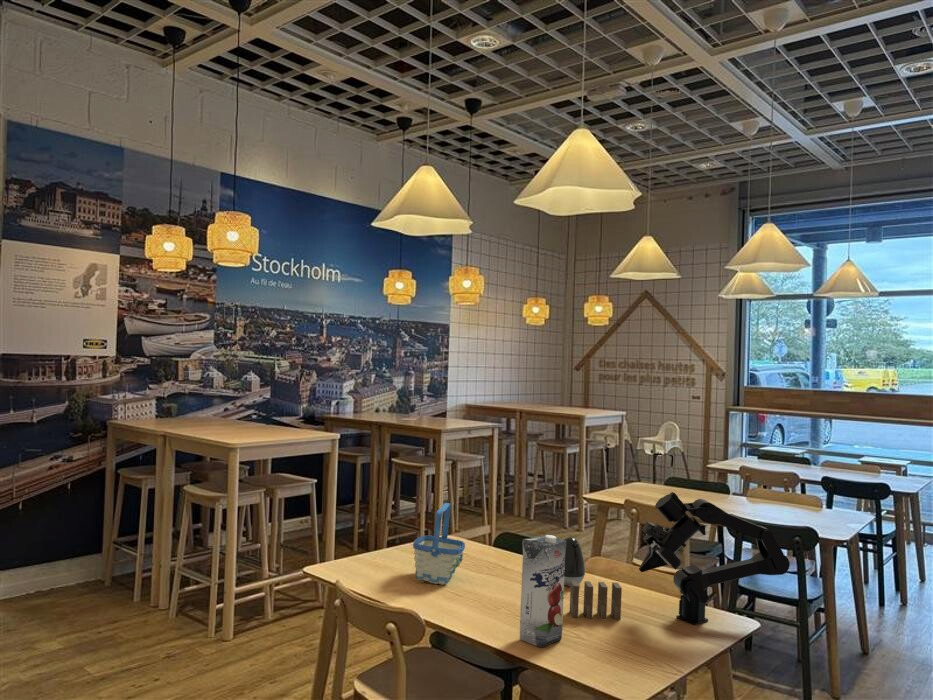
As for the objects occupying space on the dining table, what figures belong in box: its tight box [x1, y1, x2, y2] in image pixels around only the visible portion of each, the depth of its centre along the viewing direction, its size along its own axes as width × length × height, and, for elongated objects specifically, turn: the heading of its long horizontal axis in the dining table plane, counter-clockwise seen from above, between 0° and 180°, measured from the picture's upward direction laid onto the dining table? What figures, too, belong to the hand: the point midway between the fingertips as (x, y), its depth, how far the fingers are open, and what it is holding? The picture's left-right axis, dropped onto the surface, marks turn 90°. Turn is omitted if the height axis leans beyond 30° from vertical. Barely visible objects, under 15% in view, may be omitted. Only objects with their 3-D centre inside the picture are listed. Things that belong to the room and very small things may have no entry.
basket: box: [412, 502, 466, 586], centre depth 229 cm, size 21×16×24 cm
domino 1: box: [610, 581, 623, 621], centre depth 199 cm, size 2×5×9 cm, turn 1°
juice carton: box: [519, 534, 566, 648], centre depth 179 cm, size 9×10×27 cm
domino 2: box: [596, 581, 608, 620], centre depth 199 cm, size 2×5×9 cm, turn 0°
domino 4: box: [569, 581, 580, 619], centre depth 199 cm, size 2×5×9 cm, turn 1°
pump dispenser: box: [563, 536, 586, 587], centre depth 229 cm, size 10×10×15 cm
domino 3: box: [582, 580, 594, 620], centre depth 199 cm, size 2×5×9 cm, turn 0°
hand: (640, 570), depth 199 cm, fingers closed
